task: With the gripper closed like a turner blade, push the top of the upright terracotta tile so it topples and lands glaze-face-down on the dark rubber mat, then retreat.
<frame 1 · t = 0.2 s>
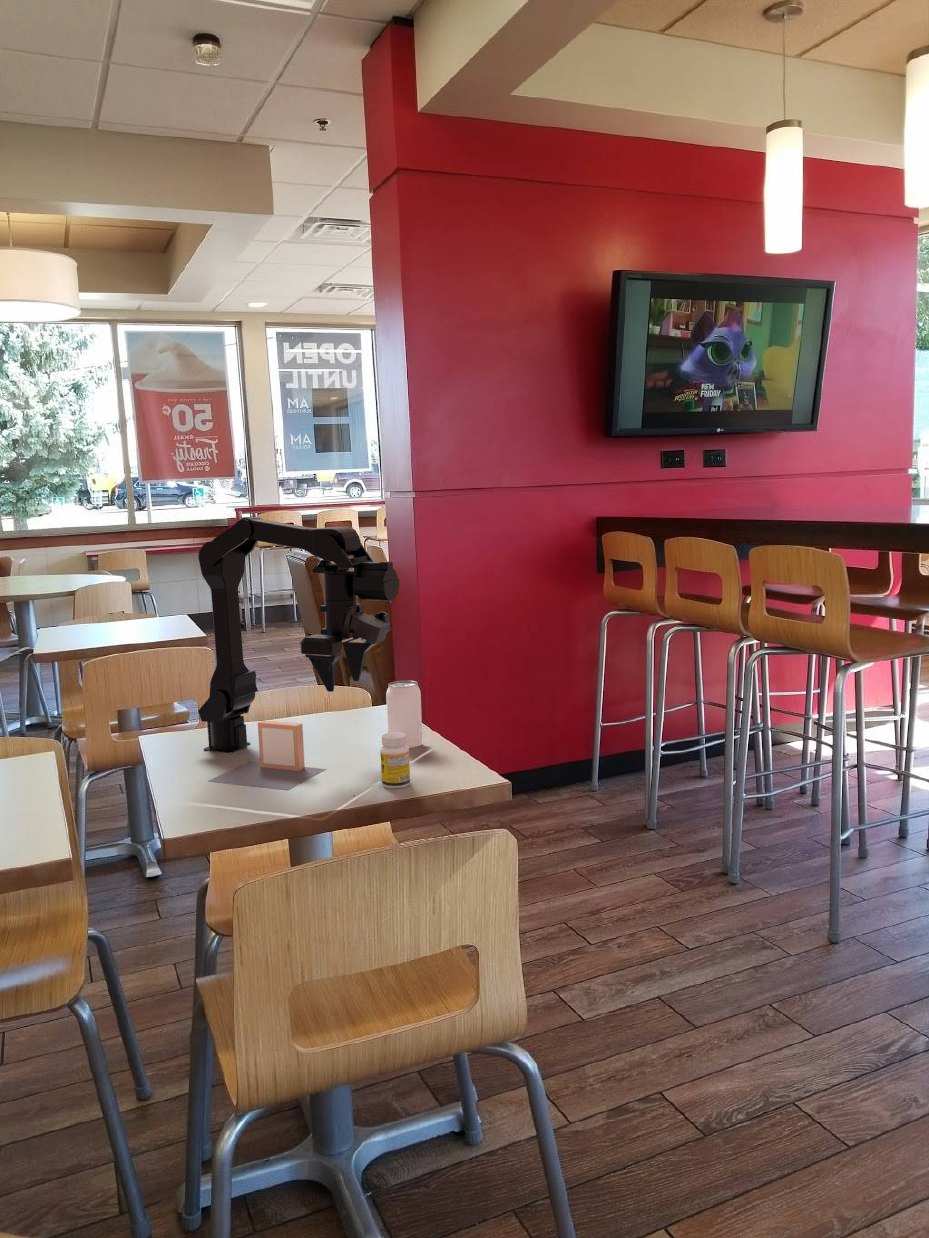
hand: (343, 686, 167), 14 cm above the table, tool pointing down, fingers open, 9 cm apart
supplement bottle: (396, 785, 155), on the table
can: (405, 746, 178), on the table
tile: (282, 767, 165), resting on mat
mat: (267, 777, 161), on the table
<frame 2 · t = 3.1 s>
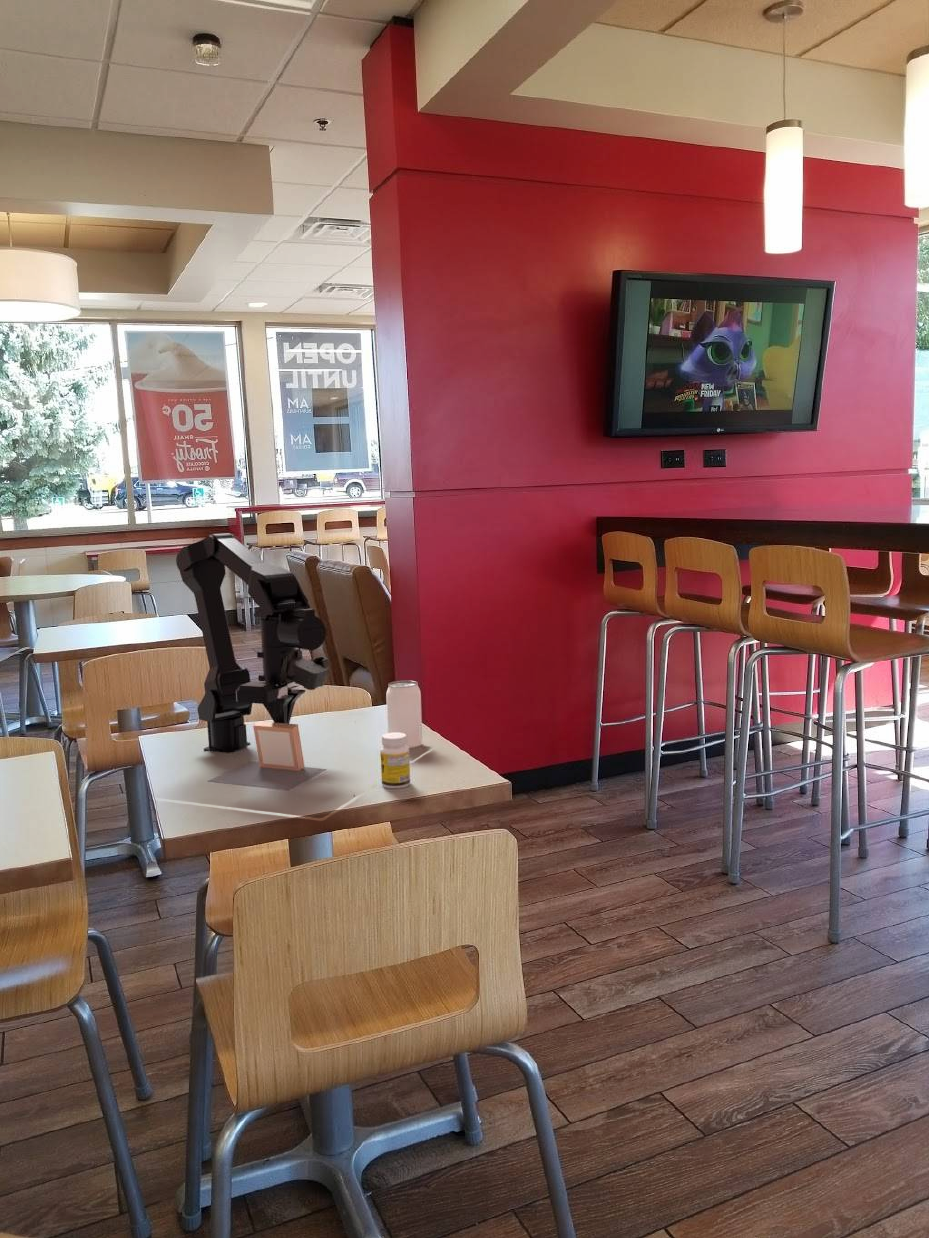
hand: (283, 732, 165), 7 cm above the table, tool pointing down, fingers closed
tile: (282, 766, 165), point 1 cm above the table, tilted 10°, touching gripper, mat
everything else where it was.
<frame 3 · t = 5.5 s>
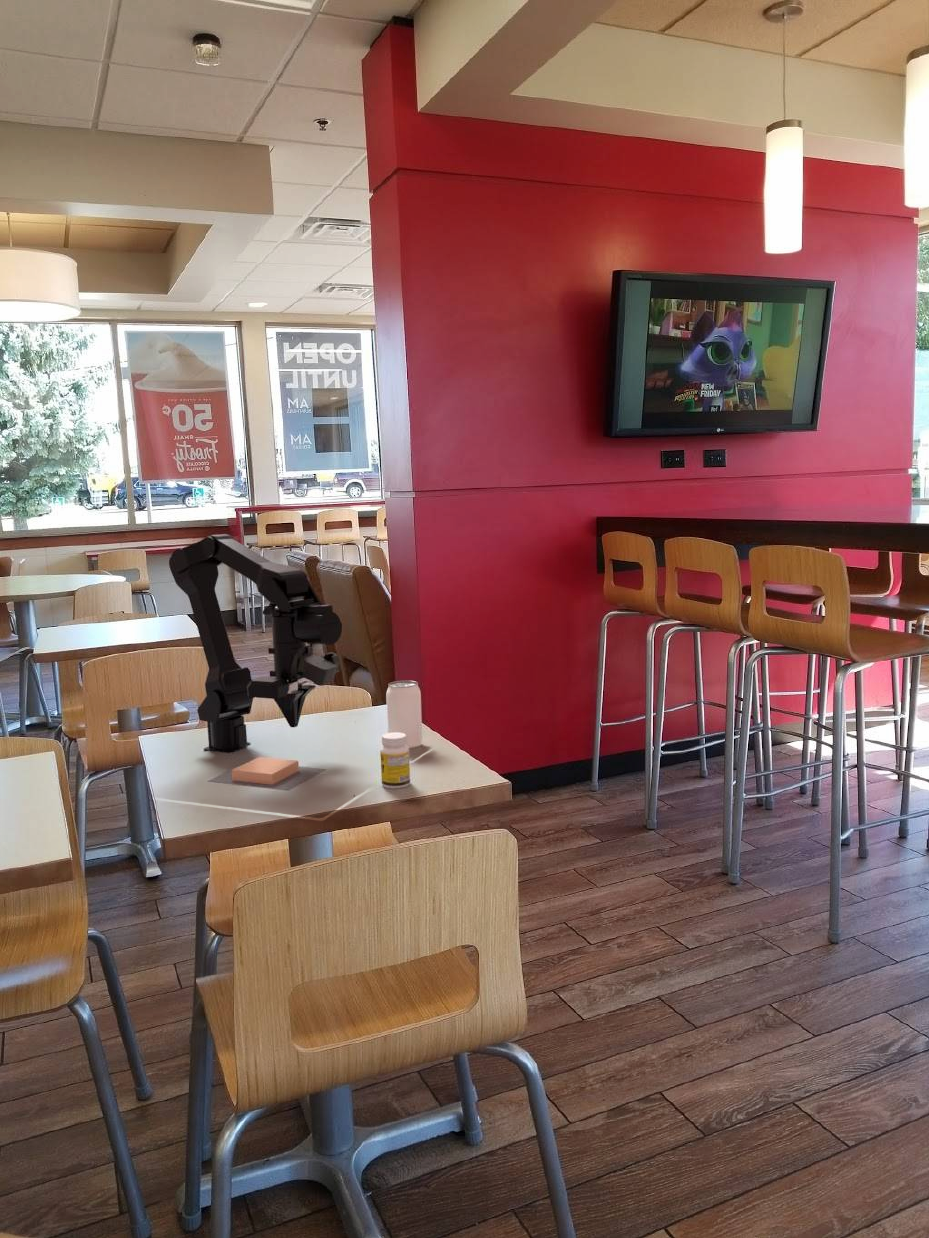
hand: (293, 726, 168), 7 cm above the table, tool pointing down, fingers closed
tile: (279, 763, 164), point 1 cm above the table, tilted 90°, touching mat
everything else where it was.
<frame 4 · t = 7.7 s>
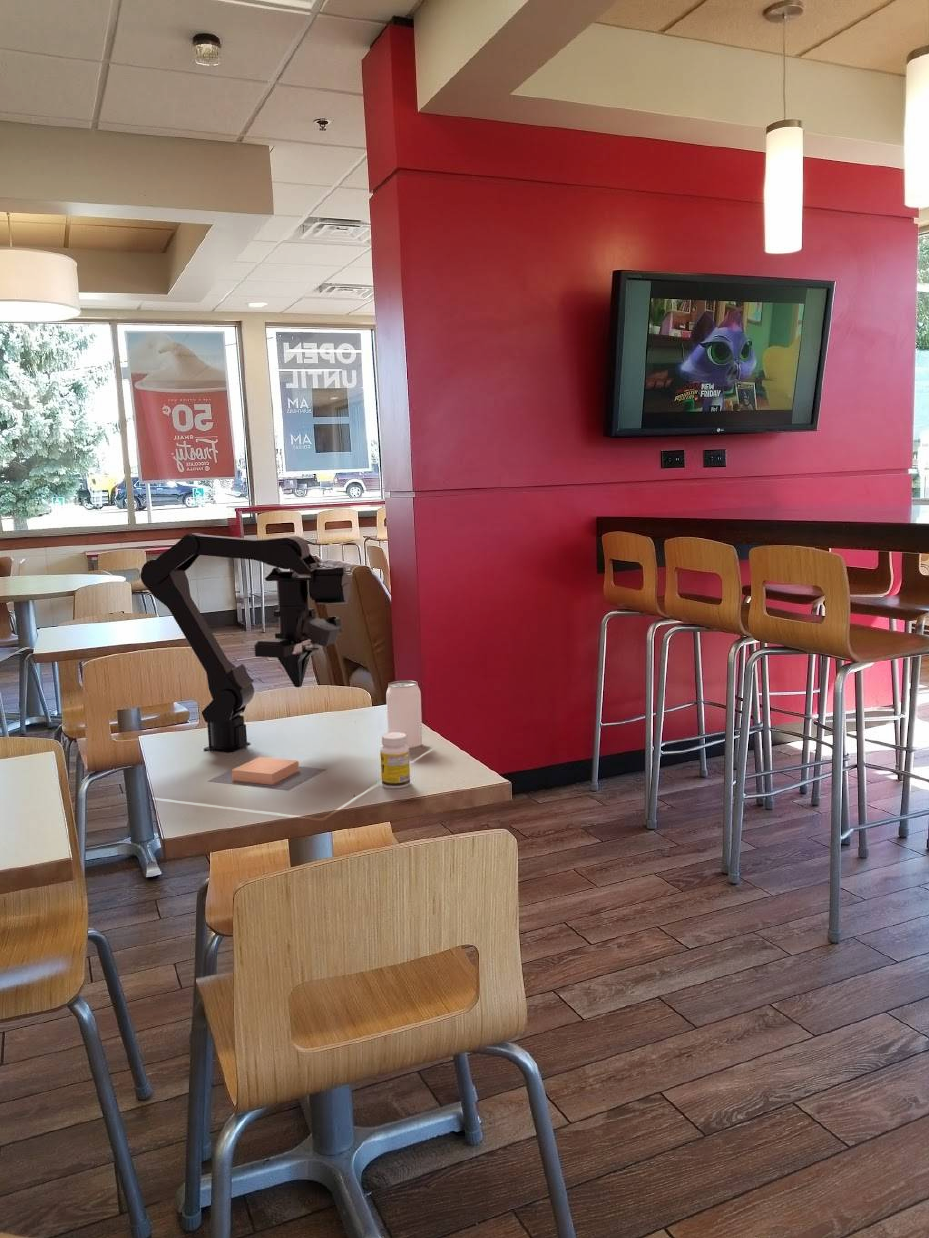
hand: (298, 686, 176), 12 cm above the table, tool pointing down, fingers closed
nothing on the table moved.
at the end: tile tilted 90°; tile inside the target area on the mat (3.5 cm from its centre), point 1.3 cm above the mat's base; tile touching mat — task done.
